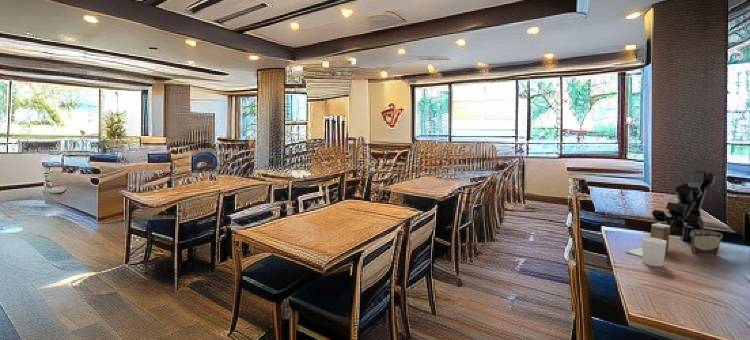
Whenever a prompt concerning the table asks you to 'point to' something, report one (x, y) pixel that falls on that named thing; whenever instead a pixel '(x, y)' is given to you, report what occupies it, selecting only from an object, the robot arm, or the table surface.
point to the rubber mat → (636, 252)
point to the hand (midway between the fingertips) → (667, 232)
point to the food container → (705, 242)
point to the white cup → (654, 251)
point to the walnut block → (661, 232)
